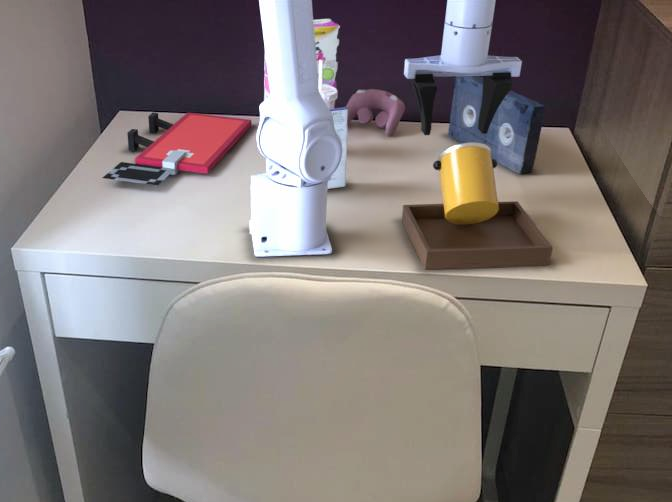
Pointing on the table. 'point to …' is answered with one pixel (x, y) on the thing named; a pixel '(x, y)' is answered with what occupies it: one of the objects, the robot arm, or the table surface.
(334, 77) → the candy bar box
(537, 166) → the table surface
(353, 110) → the video game controller
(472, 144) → the pot
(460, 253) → the tray
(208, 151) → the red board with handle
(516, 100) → the vhs cassette tape
